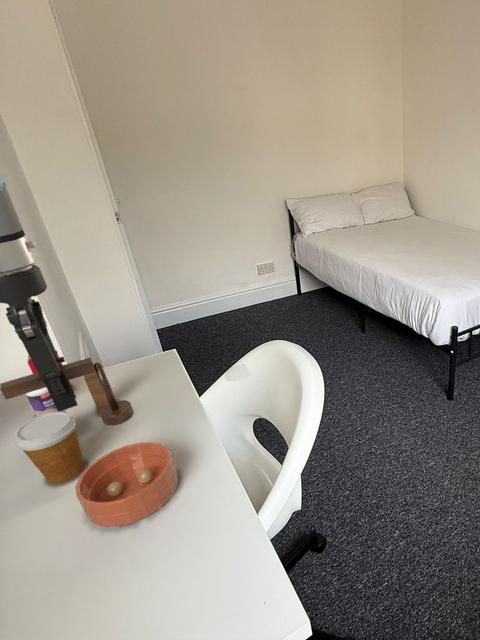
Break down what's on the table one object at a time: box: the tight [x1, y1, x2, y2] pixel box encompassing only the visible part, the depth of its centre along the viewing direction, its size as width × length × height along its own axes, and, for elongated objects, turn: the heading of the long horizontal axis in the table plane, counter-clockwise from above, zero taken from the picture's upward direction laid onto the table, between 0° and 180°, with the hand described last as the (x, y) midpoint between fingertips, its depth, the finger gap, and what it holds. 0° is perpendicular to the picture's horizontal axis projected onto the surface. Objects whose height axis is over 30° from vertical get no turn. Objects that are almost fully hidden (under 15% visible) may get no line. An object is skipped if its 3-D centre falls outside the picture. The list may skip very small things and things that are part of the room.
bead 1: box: [107, 482, 123, 496], centre depth 77 cm, size 3×3×3 cm
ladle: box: [0, 357, 135, 427], centre depth 70 cm, size 15×5×12 cm, turn 129°
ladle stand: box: [83, 372, 109, 414], centre depth 101 cm, size 4×4×10 cm
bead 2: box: [138, 469, 153, 483], centre depth 80 cm, size 3×3×3 cm
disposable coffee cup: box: [13, 411, 86, 485], centre depth 81 cm, size 10×10×12 cm
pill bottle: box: [25, 387, 57, 417], centre depth 100 cm, size 5×5×10 cm
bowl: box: [75, 442, 179, 528], centre depth 77 cm, size 15×15×6 cm
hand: (67, 403), depth 70 cm, fingers closed on ladle, 2 cm apart
